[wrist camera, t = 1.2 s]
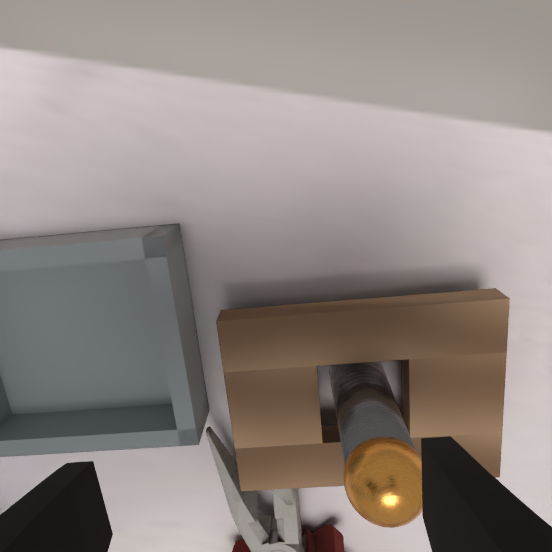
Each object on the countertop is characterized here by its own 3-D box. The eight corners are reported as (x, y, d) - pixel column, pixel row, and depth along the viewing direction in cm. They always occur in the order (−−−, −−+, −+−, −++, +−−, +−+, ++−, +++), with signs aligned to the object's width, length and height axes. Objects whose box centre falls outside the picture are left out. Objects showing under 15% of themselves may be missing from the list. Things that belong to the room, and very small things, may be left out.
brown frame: (476, 439, 21) (499, 477, 19) (246, 453, 22) (241, 491, 20) (482, 278, 19) (509, 298, 17) (225, 299, 20) (216, 321, 17)
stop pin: (385, 394, 21) (440, 546, 13) (329, 398, 21) (351, 550, 13) (383, 343, 20) (441, 472, 12) (325, 348, 20) (346, 477, 12)
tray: (209, 410, 21) (198, 444, 19) (7, 424, 22) (-28, 458, 19) (179, 223, 19) (163, 235, 16) (-49, 244, 19) (-97, 259, 17)
